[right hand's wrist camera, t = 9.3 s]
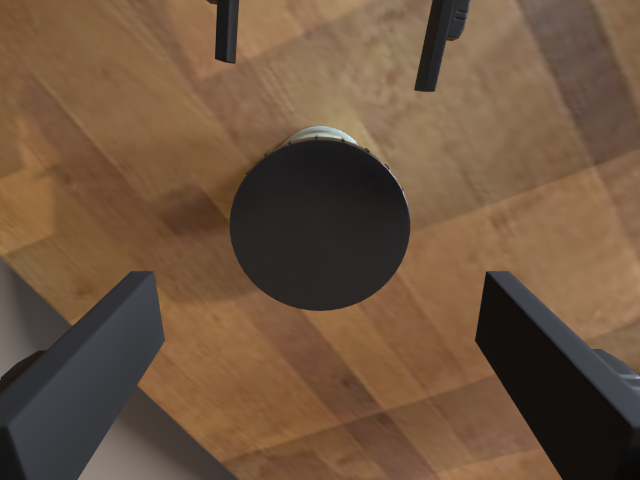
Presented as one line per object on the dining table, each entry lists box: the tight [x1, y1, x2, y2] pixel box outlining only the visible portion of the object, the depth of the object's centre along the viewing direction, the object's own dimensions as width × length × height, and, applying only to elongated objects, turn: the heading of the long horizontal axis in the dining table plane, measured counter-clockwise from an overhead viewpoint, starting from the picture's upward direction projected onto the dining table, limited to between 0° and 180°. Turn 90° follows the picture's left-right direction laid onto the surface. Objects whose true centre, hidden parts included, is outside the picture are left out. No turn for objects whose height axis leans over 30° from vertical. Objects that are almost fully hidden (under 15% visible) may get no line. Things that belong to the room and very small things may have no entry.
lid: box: [230, 135, 410, 311], centre depth 22 cm, size 10×10×2 cm
